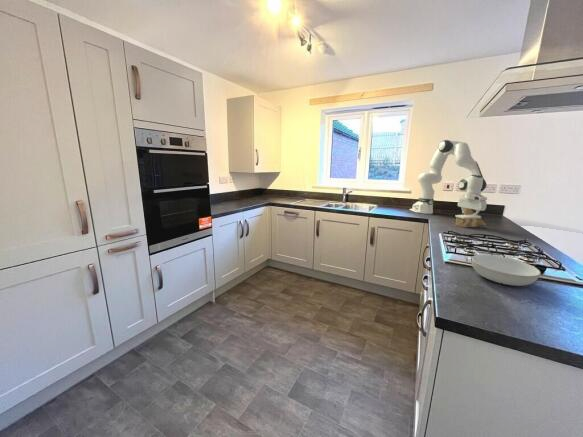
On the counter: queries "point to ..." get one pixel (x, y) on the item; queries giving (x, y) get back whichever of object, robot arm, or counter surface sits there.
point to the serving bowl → (505, 270)
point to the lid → (467, 216)
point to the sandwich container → (471, 212)
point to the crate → (467, 222)
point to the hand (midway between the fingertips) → (469, 214)
